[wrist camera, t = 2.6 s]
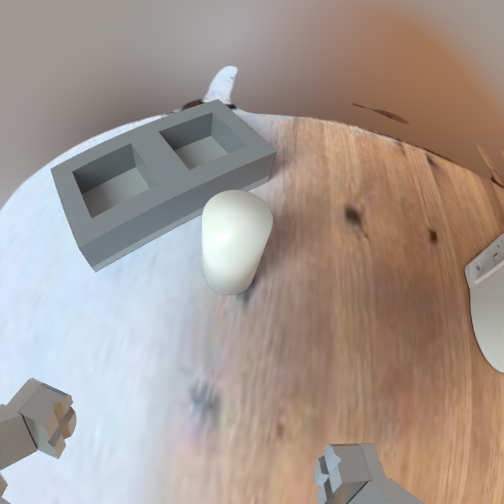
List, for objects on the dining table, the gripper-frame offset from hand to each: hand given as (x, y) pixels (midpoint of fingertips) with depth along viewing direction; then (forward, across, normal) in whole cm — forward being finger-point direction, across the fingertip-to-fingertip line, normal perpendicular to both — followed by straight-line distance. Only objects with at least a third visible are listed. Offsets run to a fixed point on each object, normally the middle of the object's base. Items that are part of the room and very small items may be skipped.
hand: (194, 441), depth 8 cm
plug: (+19, 0, +2) cm, 19 cm away
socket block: (+25, +8, -4) cm, 27 cm away
